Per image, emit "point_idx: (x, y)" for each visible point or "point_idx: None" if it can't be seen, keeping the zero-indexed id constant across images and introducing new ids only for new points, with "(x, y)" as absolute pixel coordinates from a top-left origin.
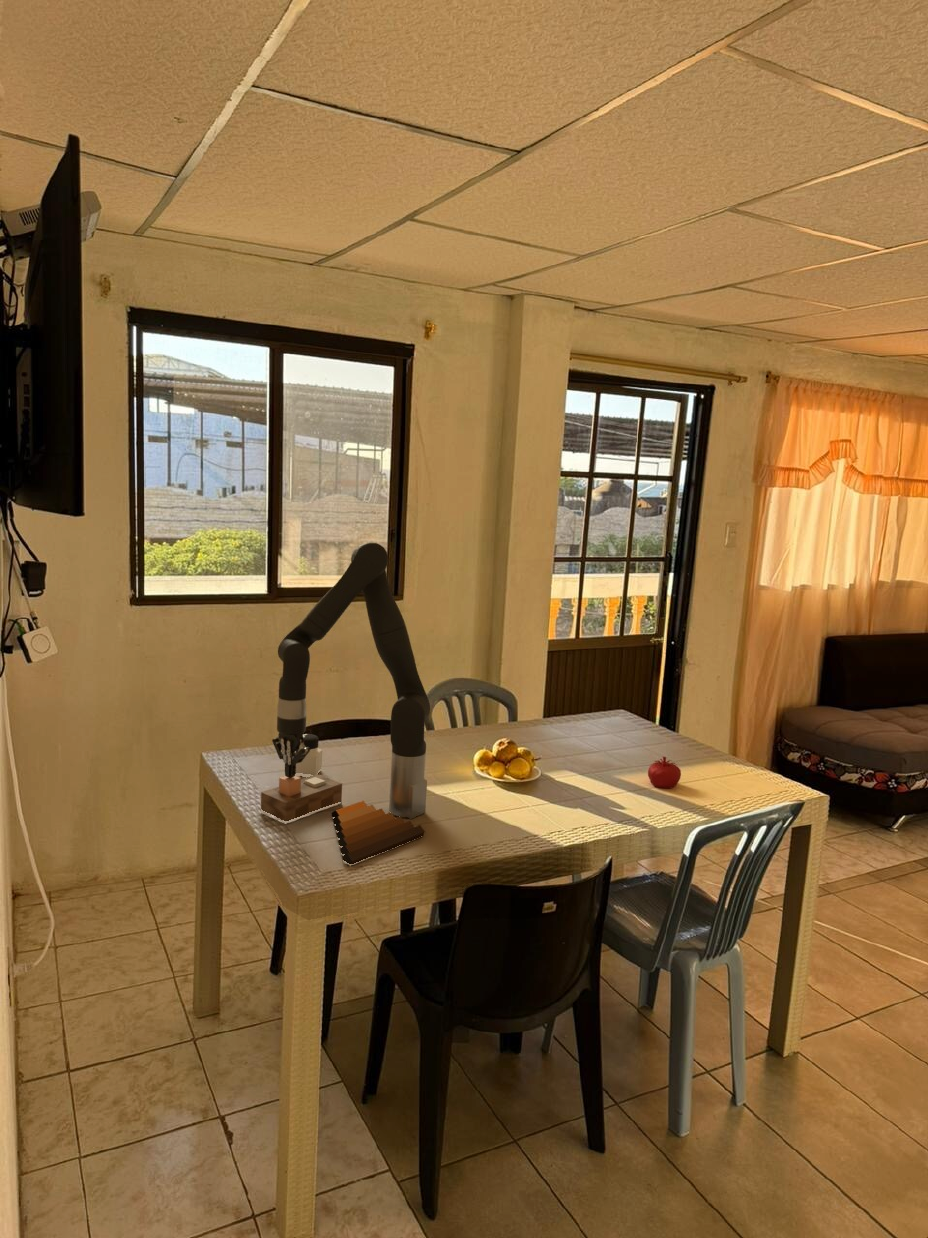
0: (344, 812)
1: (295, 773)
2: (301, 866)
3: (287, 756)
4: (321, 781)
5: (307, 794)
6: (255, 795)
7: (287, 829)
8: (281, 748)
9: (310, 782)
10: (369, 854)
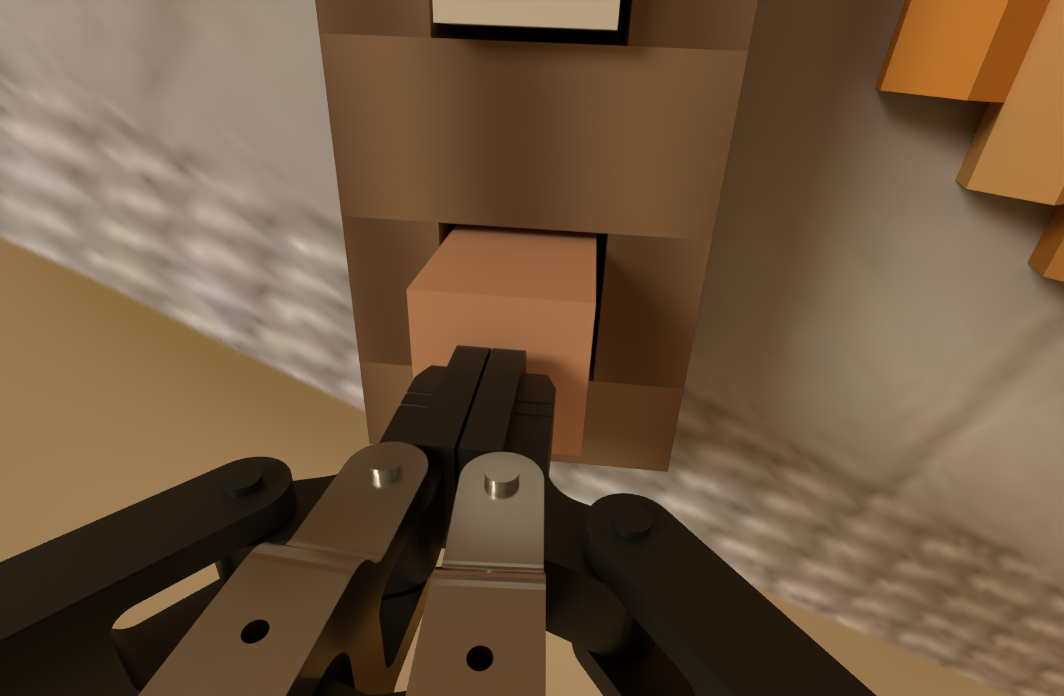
0: (1029, 20)
1: (554, 392)
2: (1030, 629)
3: (400, 640)
4: None
5: (691, 240)
6: (128, 174)
7: (705, 411)
8: (110, 685)
9: (531, 15)
10: None
